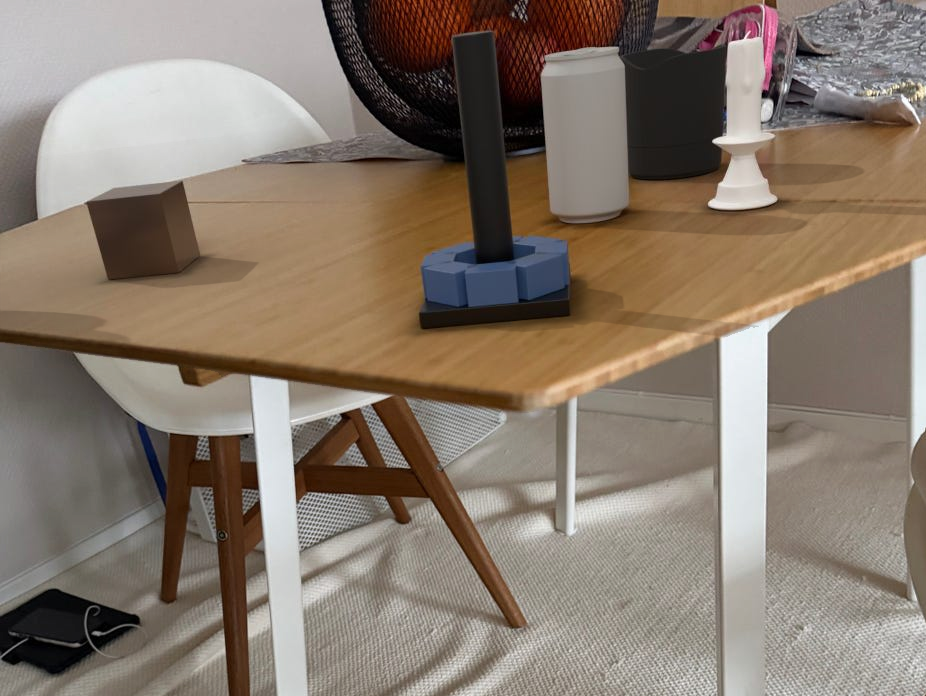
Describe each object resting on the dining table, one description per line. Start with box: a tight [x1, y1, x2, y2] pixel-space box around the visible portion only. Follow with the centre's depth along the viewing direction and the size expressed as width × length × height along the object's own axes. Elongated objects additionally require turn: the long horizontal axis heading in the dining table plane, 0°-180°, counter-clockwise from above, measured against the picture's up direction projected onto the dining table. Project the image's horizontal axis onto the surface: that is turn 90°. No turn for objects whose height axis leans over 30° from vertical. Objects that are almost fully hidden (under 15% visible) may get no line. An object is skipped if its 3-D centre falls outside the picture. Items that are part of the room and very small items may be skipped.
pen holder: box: [618, 43, 728, 180], centre depth 99 cm, size 9×9×10 cm
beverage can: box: [540, 46, 630, 224], centre depth 86 cm, size 6×6×12 cm
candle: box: [707, 30, 778, 211], centre depth 83 cm, size 5×5×12 cm
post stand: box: [418, 30, 572, 330], centre depth 65 cm, size 9×9×15 cm
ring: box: [420, 235, 571, 307], centre depth 68 cm, size 9×9×2 cm
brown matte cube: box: [85, 180, 201, 281], centre depth 89 cm, size 6×6×6 cm
